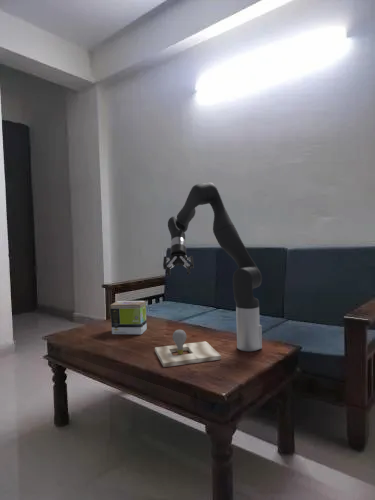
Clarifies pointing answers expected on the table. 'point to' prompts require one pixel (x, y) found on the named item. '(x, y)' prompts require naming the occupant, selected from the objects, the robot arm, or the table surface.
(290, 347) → the table surface
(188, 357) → the cream board with hole
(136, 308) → the tea box
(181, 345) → the light bulb
